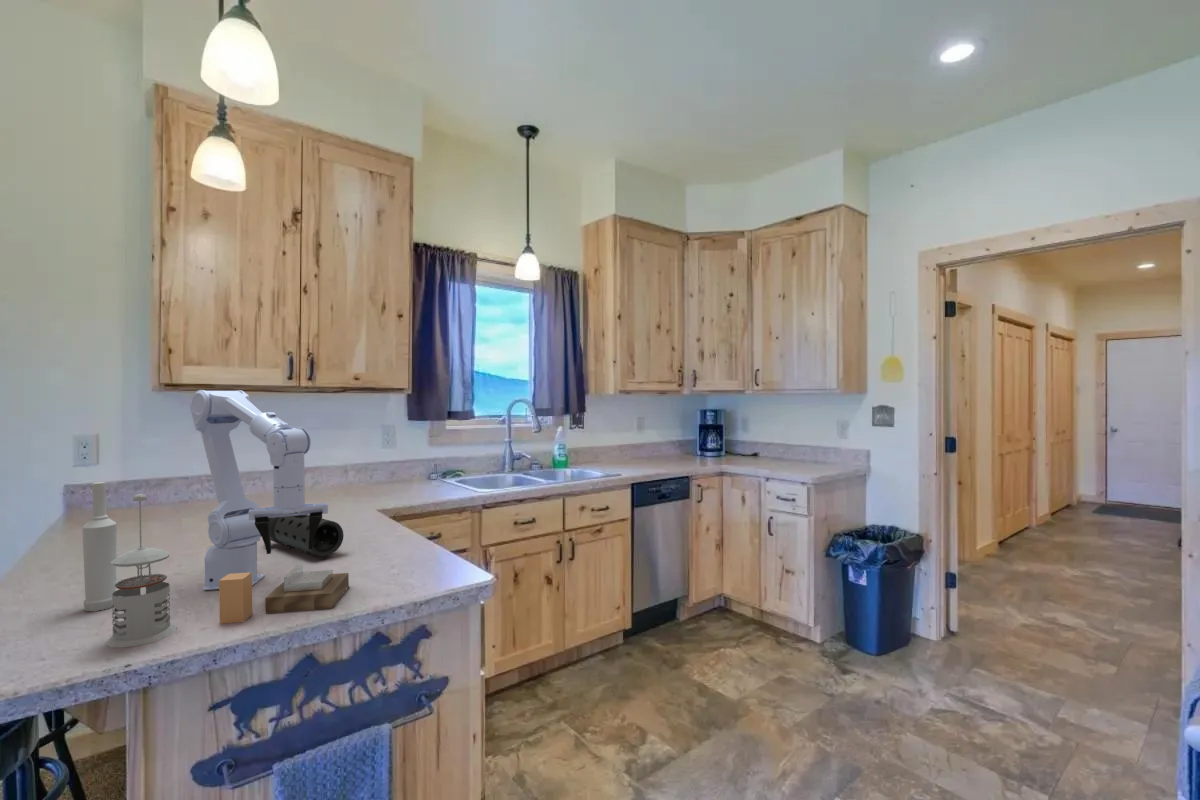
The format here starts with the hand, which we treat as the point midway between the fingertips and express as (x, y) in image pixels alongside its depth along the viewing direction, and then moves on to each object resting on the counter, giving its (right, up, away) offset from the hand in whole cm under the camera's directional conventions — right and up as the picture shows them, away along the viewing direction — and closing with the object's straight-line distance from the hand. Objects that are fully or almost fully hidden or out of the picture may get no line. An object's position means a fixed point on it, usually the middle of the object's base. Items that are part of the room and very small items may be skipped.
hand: (290, 550), depth 118 cm
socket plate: (+5, -10, -2) cm, 11 cm away
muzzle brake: (-16, -10, +35) cm, 39 cm away
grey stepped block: (+5, -6, -2) cm, 9 cm away
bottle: (-35, -10, -6) cm, 37 cm away
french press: (-16, -10, -18) cm, 26 cm away
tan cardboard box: (-4, -10, -12) cm, 16 cm away
